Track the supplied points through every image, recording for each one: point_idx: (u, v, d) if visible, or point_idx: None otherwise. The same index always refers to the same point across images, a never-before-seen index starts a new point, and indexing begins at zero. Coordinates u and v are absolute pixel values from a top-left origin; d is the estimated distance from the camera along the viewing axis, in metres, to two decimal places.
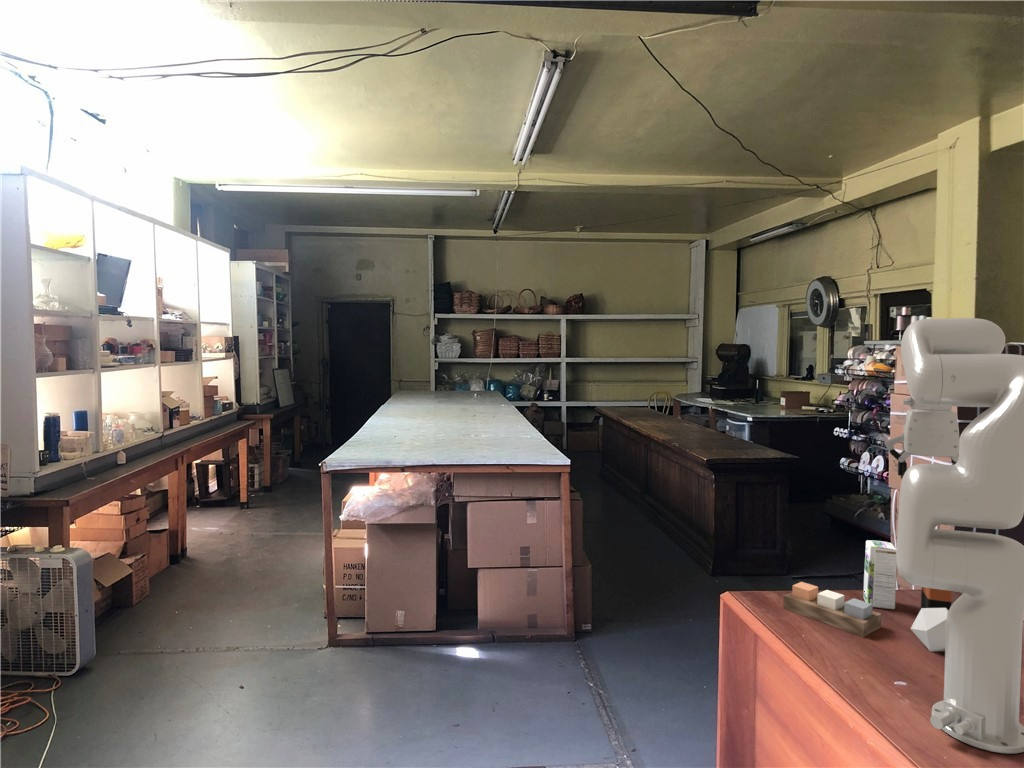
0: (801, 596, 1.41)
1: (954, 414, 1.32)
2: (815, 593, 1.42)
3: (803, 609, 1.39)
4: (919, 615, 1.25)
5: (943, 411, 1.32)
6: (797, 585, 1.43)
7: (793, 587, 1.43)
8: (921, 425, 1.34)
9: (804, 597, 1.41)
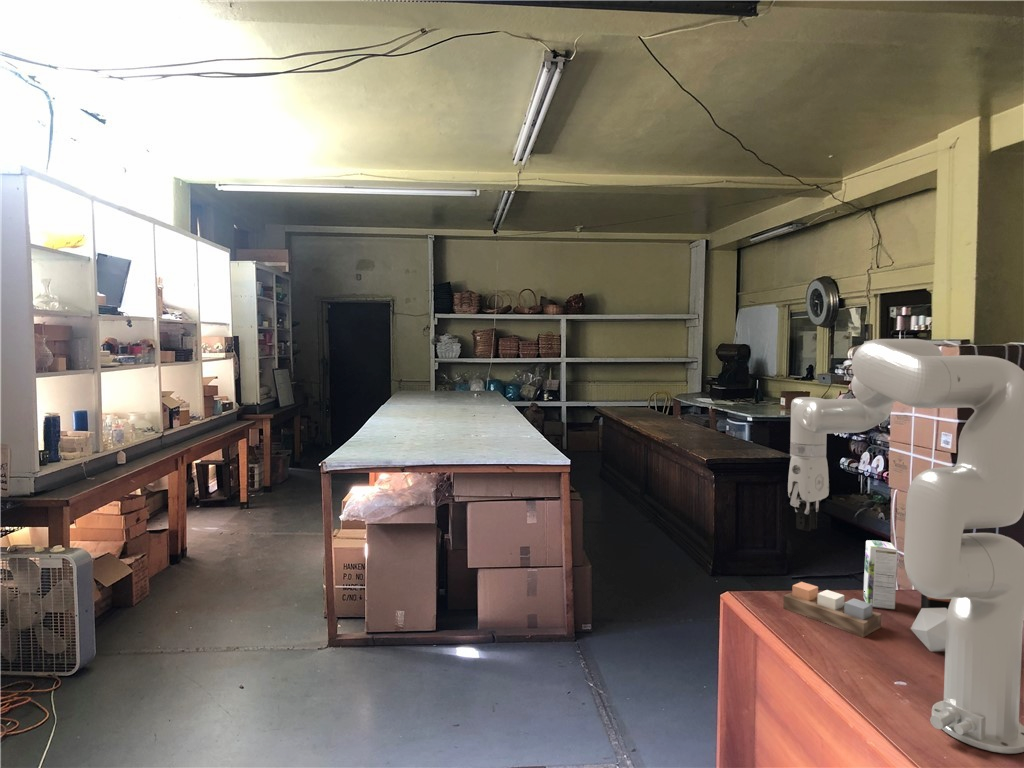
0: (801, 596, 1.41)
1: None
2: (815, 593, 1.42)
3: (803, 609, 1.39)
4: (919, 615, 1.25)
5: None
6: (797, 585, 1.43)
7: (793, 587, 1.43)
8: (814, 472, 1.38)
9: (804, 597, 1.41)
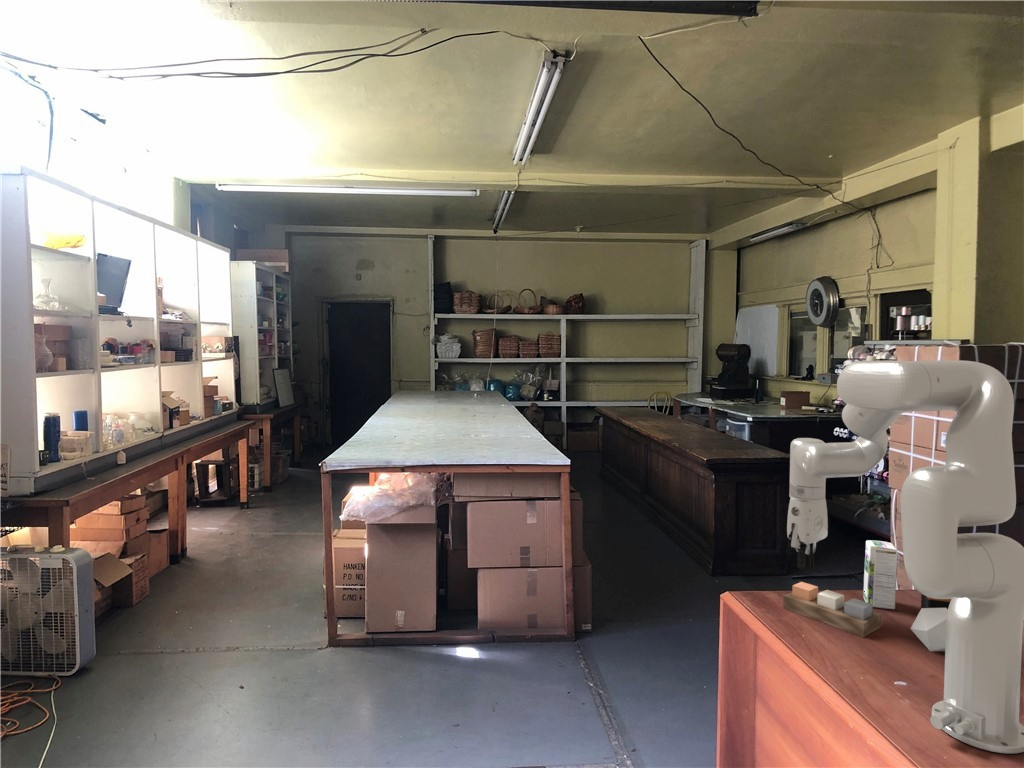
0: (801, 596, 1.41)
1: None
2: (815, 593, 1.42)
3: (803, 609, 1.39)
4: (919, 615, 1.25)
5: None
6: (797, 585, 1.43)
7: (793, 587, 1.43)
8: (813, 514, 1.38)
9: (804, 597, 1.41)
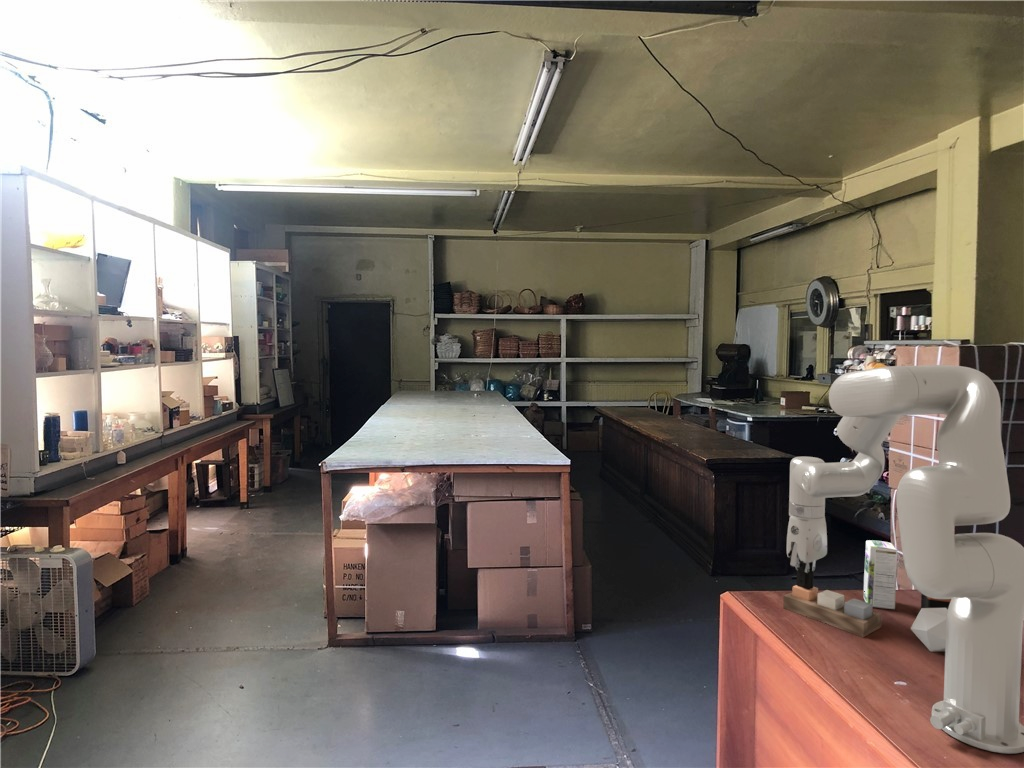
0: (801, 597, 1.41)
1: (824, 517, 1.42)
2: (815, 595, 1.42)
3: (803, 609, 1.39)
4: (919, 615, 1.25)
5: (824, 517, 1.40)
6: (797, 586, 1.43)
7: (793, 588, 1.43)
8: (812, 533, 1.38)
9: (804, 598, 1.41)
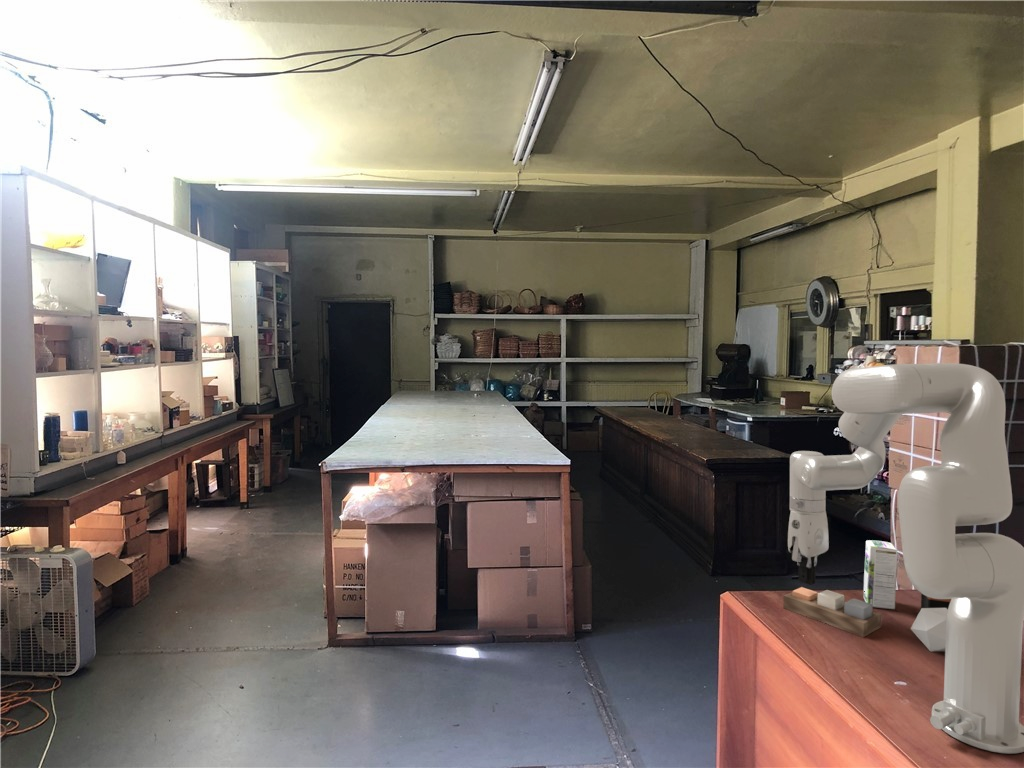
0: None
1: (825, 511, 1.42)
2: None
3: (803, 609, 1.39)
4: (919, 615, 1.24)
5: None
6: (797, 590, 1.43)
7: (793, 593, 1.43)
8: (813, 527, 1.38)
9: None
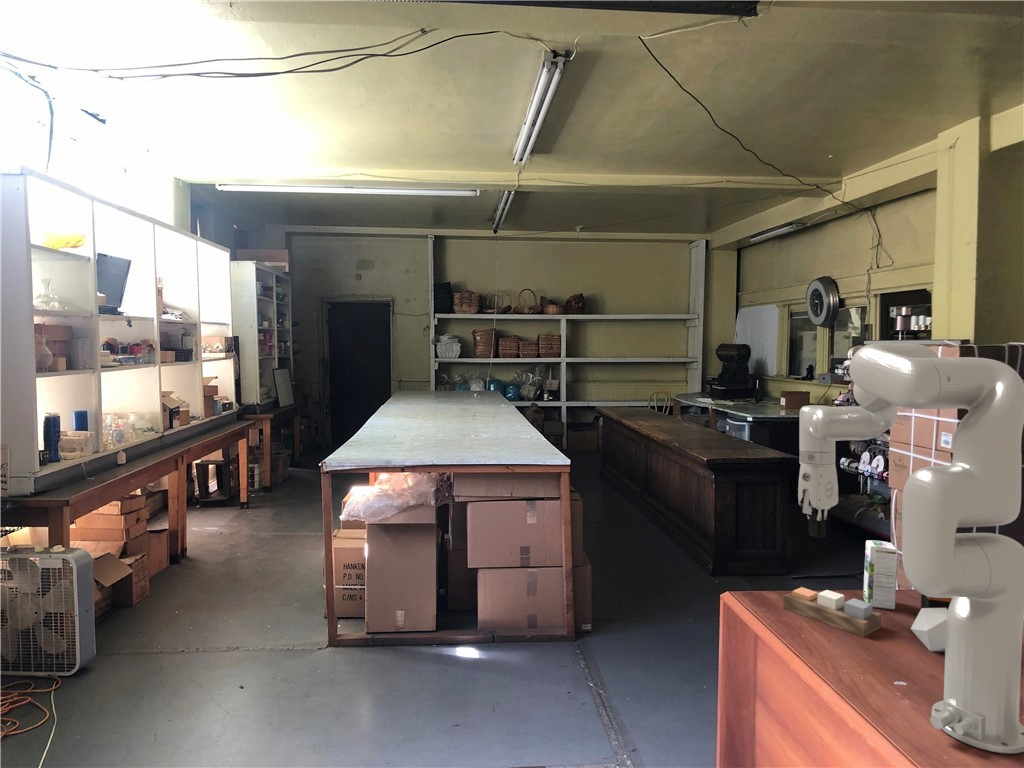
0: None
1: None
2: None
3: (803, 609, 1.39)
4: (919, 615, 1.25)
5: None
6: (797, 590, 1.43)
7: (793, 593, 1.43)
8: (824, 480, 1.39)
9: None
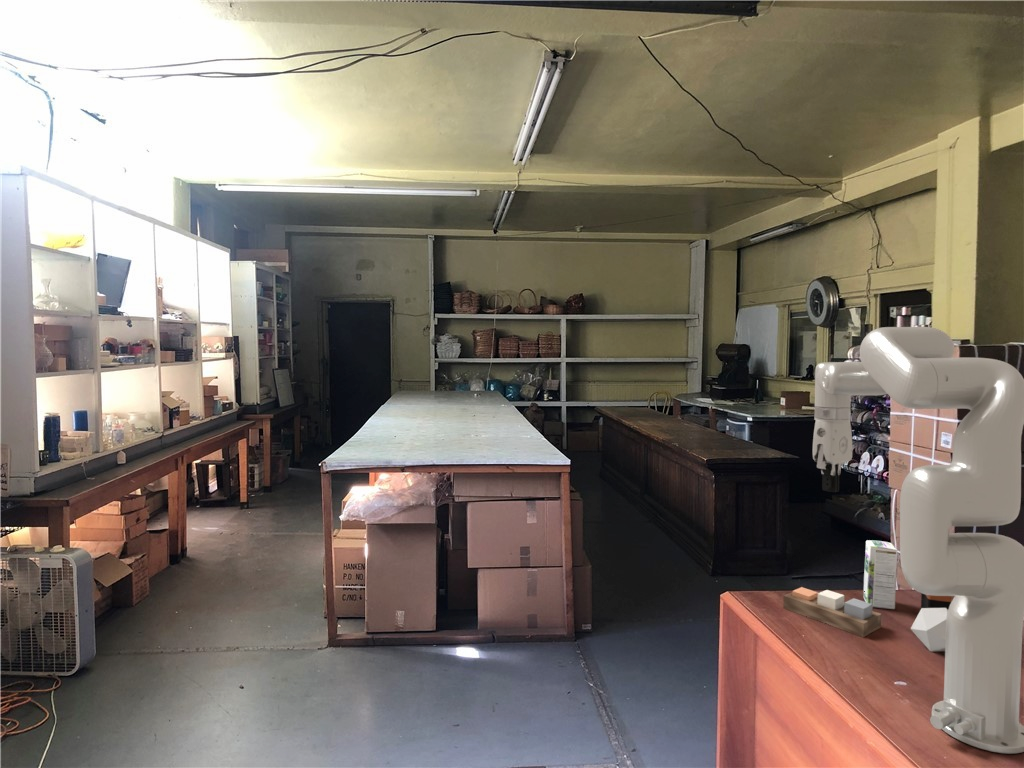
0: None
1: (849, 421, 1.44)
2: None
3: (803, 609, 1.39)
4: (919, 615, 1.25)
5: None
6: (797, 590, 1.43)
7: (793, 593, 1.43)
8: (838, 435, 1.41)
9: None
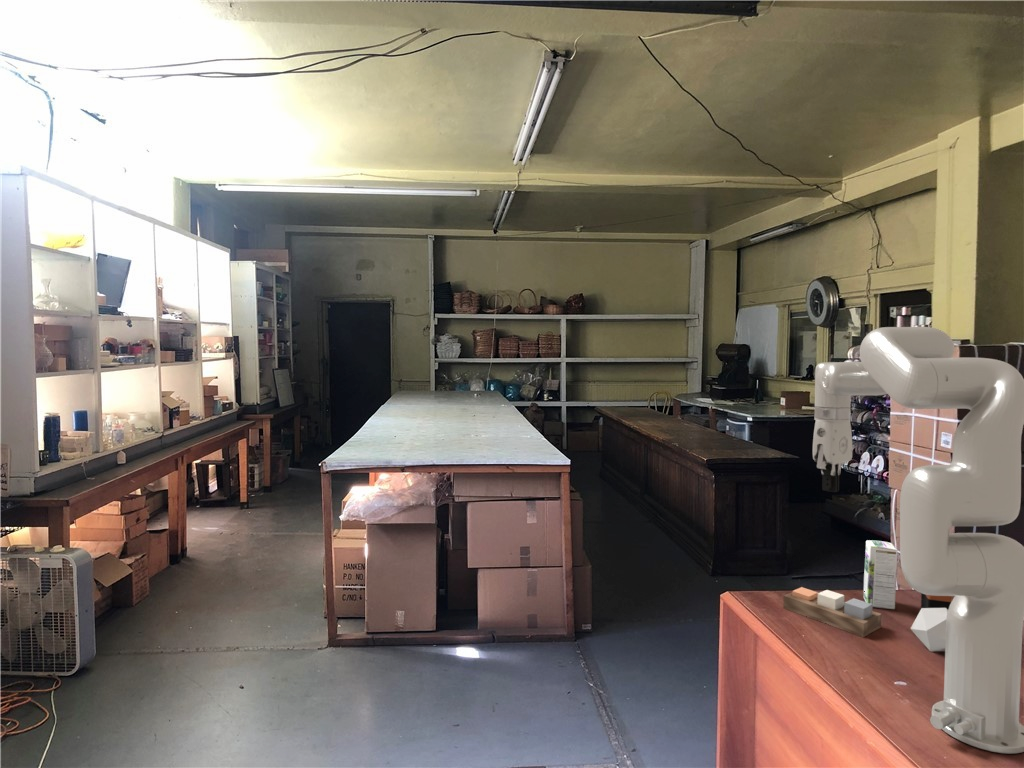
0: None
1: (849, 421, 1.44)
2: None
3: (803, 609, 1.39)
4: (919, 615, 1.25)
5: None
6: (797, 590, 1.43)
7: (793, 593, 1.43)
8: (838, 435, 1.41)
9: None
